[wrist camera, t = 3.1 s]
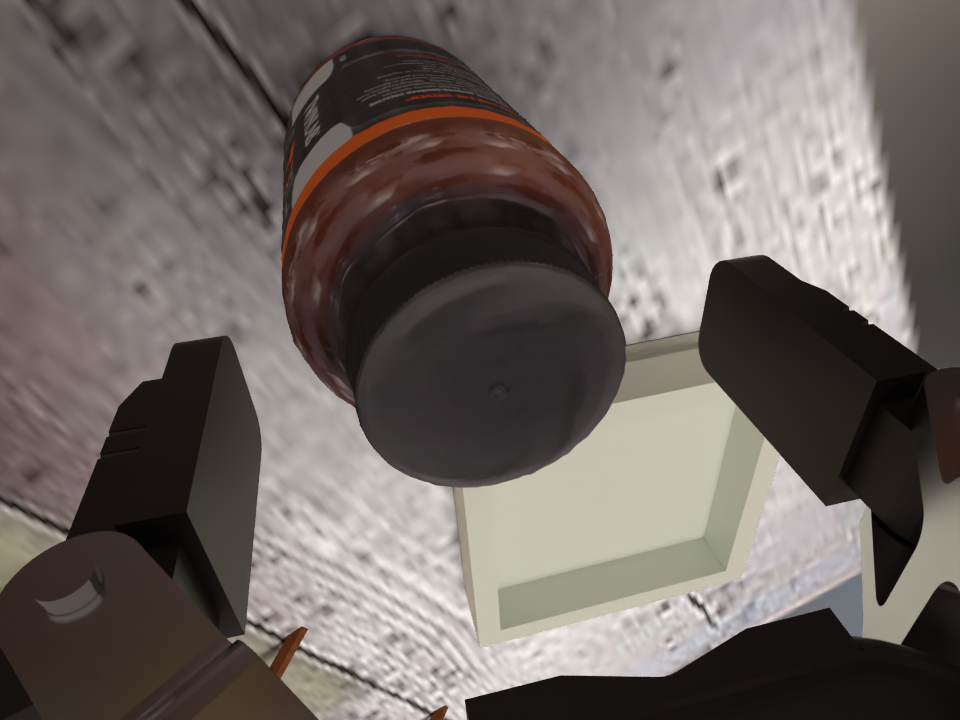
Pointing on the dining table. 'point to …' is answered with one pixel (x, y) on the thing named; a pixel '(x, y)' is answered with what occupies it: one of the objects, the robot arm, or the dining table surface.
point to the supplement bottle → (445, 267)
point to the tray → (621, 505)
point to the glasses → (292, 645)
